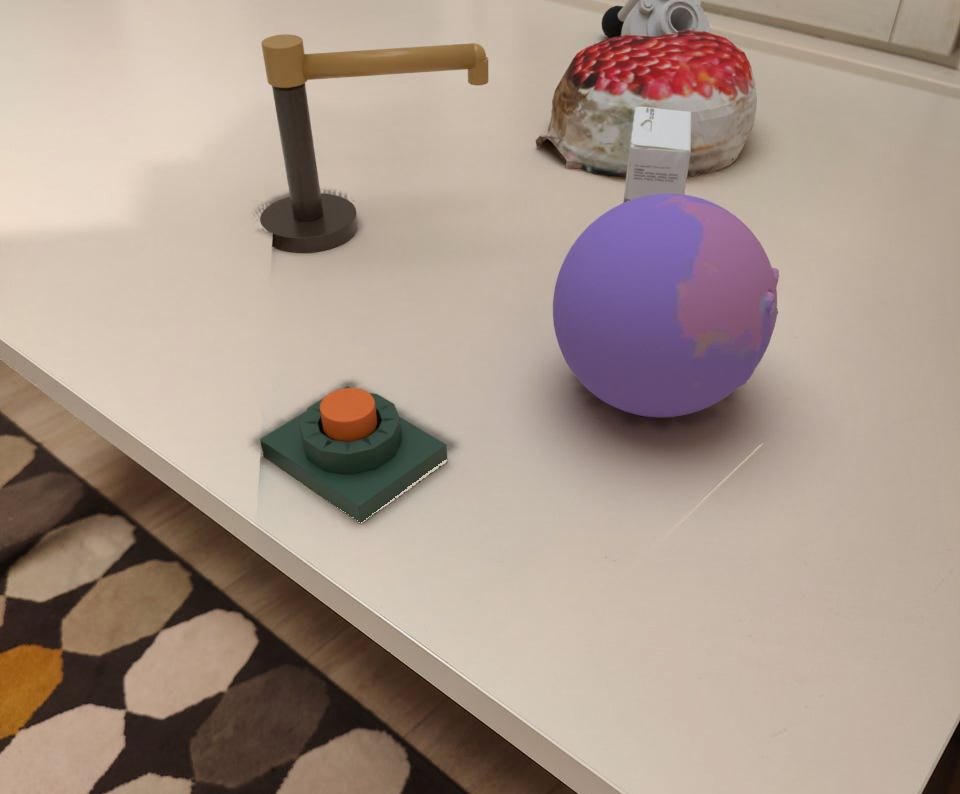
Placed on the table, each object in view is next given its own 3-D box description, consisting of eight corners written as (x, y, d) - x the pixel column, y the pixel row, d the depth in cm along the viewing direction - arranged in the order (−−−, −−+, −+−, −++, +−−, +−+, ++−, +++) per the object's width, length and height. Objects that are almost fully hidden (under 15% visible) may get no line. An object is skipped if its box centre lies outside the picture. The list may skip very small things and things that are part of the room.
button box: (263, 457, 65) (254, 418, 63) (350, 403, 70) (344, 365, 67) (361, 525, 60) (355, 485, 58) (447, 463, 65) (445, 423, 62)
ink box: (673, 281, 82) (691, 148, 73) (615, 277, 82) (627, 145, 74) (675, 234, 88) (692, 106, 80) (621, 230, 88) (633, 103, 80)
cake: (653, 79, 116) (662, -9, 110) (794, 150, 101) (815, 52, 94) (491, 119, 108) (491, 26, 101) (618, 203, 92) (628, 100, 86)
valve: (657, 124, 130) (645, 14, 129) (727, 63, 110) (712, -67, 110) (587, 127, 127) (573, 15, 127) (645, 66, 108) (630, -67, 108)
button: (311, 426, 63) (308, 405, 62) (352, 401, 65) (349, 380, 64) (348, 449, 61) (345, 428, 60) (388, 423, 63) (386, 402, 62)
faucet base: (260, 256, 86) (231, 107, 77) (264, 211, 93) (237, 69, 83) (359, 248, 87) (342, 100, 78) (356, 203, 93) (340, 62, 84)
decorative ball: (752, 476, 63) (799, 279, 53) (531, 444, 66) (536, 251, 56) (758, 350, 74) (799, 165, 64) (568, 327, 77) (578, 147, 66)
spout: (269, 103, 80) (260, 49, 77) (270, 88, 82) (261, 35, 79) (491, 88, 81) (490, 34, 78) (485, 74, 84) (485, 21, 81)
